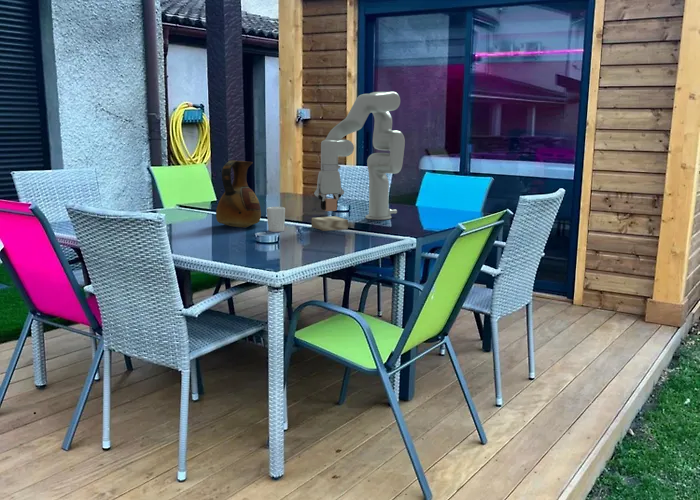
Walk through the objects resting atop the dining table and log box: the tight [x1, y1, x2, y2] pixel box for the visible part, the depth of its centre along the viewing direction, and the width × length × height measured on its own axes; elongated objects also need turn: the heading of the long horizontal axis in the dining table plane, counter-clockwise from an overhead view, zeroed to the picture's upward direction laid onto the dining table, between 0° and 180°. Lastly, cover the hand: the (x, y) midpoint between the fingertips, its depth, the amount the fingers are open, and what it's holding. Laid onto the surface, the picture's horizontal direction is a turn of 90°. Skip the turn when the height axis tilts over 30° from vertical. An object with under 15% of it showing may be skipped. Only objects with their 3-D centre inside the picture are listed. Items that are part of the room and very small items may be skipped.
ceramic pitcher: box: [215, 159, 262, 228], centre depth 300 cm, size 20×20×30 cm
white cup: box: [266, 206, 286, 233], centre depth 293 cm, size 8×8×10 cm
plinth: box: [311, 215, 349, 232], centre depth 301 cm, size 12×12×4 cm
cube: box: [323, 197, 338, 212], centre depth 299 cm, size 5×5×5 cm
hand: (329, 209), depth 300 cm, fingers closed on cube, 4 cm apart
